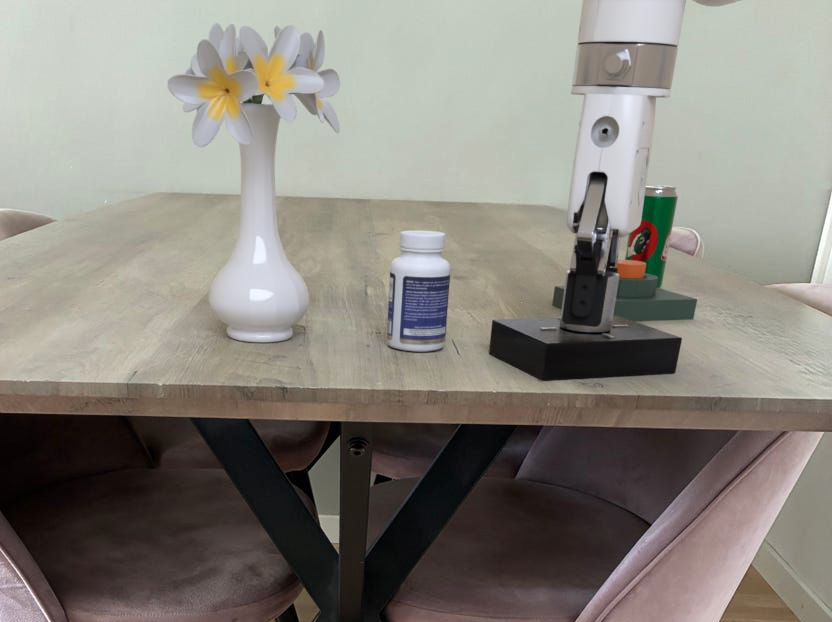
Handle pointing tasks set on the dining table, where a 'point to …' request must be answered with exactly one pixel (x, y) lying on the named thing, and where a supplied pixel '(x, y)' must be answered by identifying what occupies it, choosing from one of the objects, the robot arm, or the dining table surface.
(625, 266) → the button
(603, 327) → the dial
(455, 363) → the dining table surface
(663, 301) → the button block
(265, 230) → the flower vase
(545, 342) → the dial panel
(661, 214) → the soda can
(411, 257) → the pill bottle
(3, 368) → the dining table surface
